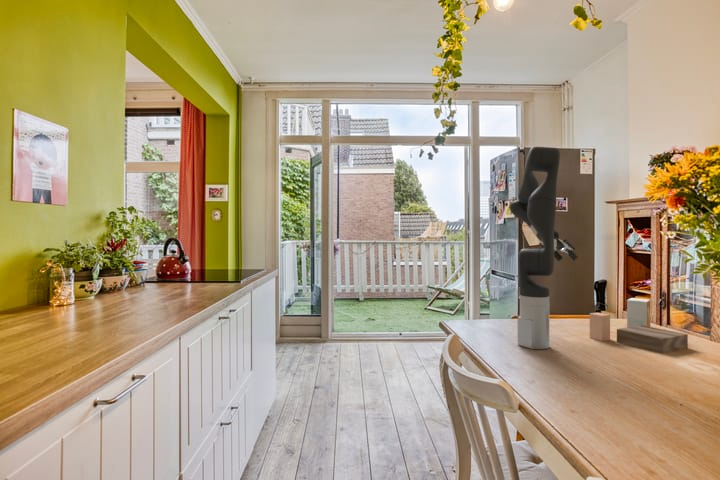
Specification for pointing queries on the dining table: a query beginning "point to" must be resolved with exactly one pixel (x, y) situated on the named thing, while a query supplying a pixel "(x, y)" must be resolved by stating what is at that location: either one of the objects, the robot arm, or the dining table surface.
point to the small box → (638, 312)
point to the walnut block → (652, 338)
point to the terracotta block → (600, 326)
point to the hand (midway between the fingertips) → (568, 259)
